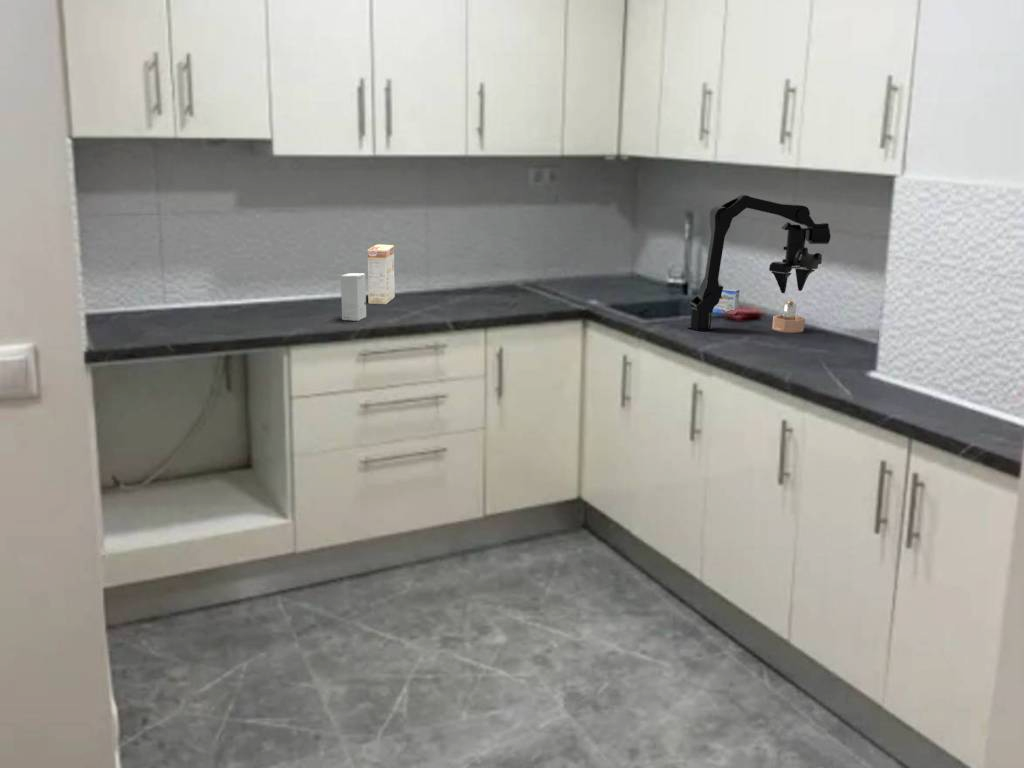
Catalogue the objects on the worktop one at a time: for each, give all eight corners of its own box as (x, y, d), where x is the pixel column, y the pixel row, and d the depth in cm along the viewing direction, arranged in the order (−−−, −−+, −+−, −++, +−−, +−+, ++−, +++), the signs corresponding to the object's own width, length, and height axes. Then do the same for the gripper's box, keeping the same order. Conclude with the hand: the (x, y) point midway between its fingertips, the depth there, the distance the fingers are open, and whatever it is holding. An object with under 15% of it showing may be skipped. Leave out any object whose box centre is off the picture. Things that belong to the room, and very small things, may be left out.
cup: (791, 333, 336) (792, 321, 335) (766, 328, 343) (767, 316, 342) (809, 330, 342) (810, 318, 341) (784, 325, 349) (785, 313, 348)
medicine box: (712, 313, 369) (714, 289, 367) (716, 311, 373) (718, 287, 371) (734, 315, 366) (736, 291, 363) (737, 313, 369) (739, 289, 367)
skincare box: (358, 321, 339) (357, 276, 335) (340, 320, 340) (340, 275, 337) (366, 316, 347) (366, 272, 343) (349, 315, 348) (349, 271, 345)
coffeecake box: (376, 296, 386) (376, 244, 381) (395, 297, 385) (395, 244, 380) (367, 303, 371) (366, 249, 367) (386, 304, 371) (386, 249, 366)
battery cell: (789, 328, 340) (791, 303, 337) (779, 326, 343) (781, 301, 340) (796, 327, 342) (799, 301, 340) (786, 325, 345) (788, 300, 343)
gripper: (799, 248, 324) (795, 298, 328) (834, 244, 335) (829, 292, 339) (770, 244, 332) (766, 293, 336) (804, 241, 344) (800, 288, 348)
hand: (791, 291), depth 339 cm, fingers open, 9 cm apart
